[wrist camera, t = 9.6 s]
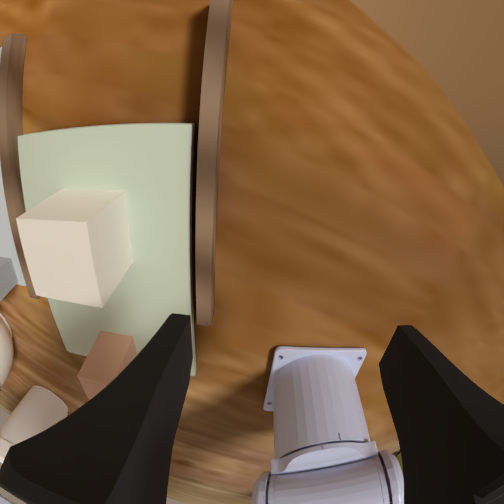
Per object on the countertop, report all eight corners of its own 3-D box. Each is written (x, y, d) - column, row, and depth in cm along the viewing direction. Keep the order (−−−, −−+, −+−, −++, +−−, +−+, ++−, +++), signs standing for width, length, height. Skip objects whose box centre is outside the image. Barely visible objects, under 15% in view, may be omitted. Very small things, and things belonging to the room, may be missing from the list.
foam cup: (12, 373, 30) (-25, 440, 18) (53, 381, 29) (15, 463, 18) (46, 413, 34) (19, 476, 23) (88, 423, 33) (63, 496, 22)
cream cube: (132, 262, 19) (103, 308, 15) (72, 256, 19) (36, 295, 15) (126, 190, 17) (86, 222, 13) (61, 189, 17) (15, 218, 12)
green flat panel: (196, 369, 25) (185, 425, 20) (70, 346, 25) (45, 390, 20) (195, 123, 16) (164, 134, 11) (24, 134, 16) (-35, 154, 10)
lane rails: (213, 310, 22) (210, 326, 21) (-6, 276, 22) (-16, 285, 20) (233, 0, 13) (230, -10, 11) (-31, 62, 12) (-45, 63, 10)
